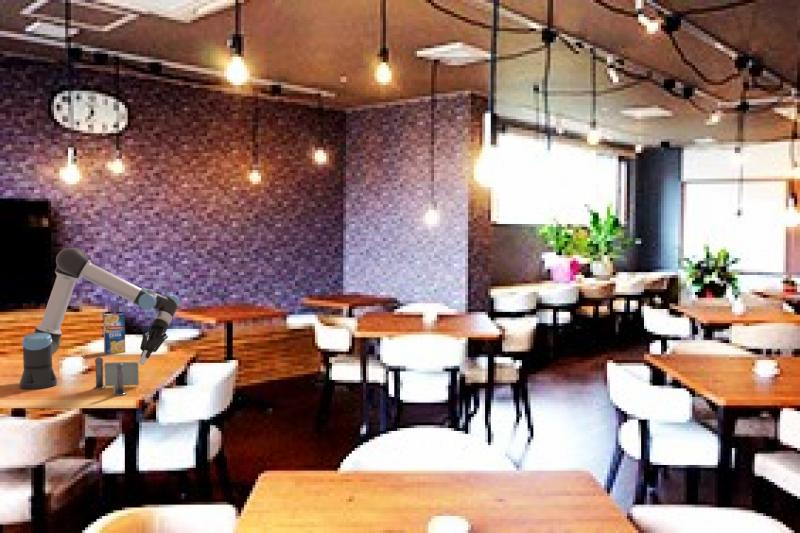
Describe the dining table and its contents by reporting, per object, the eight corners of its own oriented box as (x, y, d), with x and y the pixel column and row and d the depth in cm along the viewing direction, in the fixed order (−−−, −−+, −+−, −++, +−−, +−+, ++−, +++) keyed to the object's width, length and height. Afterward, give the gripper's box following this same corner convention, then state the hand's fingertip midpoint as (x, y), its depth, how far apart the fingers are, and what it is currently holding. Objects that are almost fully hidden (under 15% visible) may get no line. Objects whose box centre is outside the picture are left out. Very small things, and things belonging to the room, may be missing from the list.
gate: (105, 386, 316) (104, 363, 316) (106, 385, 318) (105, 362, 317) (137, 385, 319) (137, 362, 318) (138, 384, 320) (138, 361, 320)
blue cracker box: (103, 352, 411) (103, 314, 410) (124, 350, 416) (123, 313, 415) (105, 353, 405) (104, 315, 404) (125, 352, 410) (124, 314, 409)
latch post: (111, 394, 305) (110, 363, 304) (122, 392, 309) (121, 361, 308) (118, 396, 301) (117, 364, 301) (129, 394, 305) (128, 362, 304)
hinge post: (91, 388, 316) (90, 357, 316) (102, 386, 320) (101, 355, 320) (96, 390, 313) (96, 358, 313) (107, 388, 317) (107, 357, 316)
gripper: (176, 327, 344) (157, 368, 328) (153, 327, 347) (132, 367, 332) (170, 318, 338) (150, 359, 323) (146, 317, 341) (125, 358, 326)
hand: (141, 363), depth 327 cm, fingers closed
